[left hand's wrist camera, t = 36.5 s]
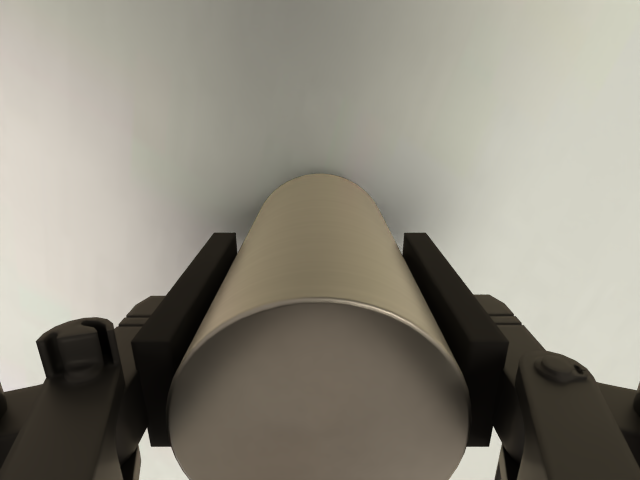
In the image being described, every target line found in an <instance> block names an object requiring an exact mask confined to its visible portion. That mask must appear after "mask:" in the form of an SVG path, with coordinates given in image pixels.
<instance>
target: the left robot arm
mask: <svg viewBox="0 0 640 480" xmlns="http://www.w3.org/2000/svg"><path fill="white" fill-rule="evenodd" d="M236 256H237V244H236V233H214V234H213V235H212V236H211V238H210V239H209V240H208V242H207V243H206V244H205V245H204V247H203V248H202V249H201V251H200V252H199V253H198V255H197V256H196V257H195V259H194V260H193V261H192V262H191V264H190V265H189V266H188V268H187V269H186V270H185V272H184V273H183V274H182V275H181V277H180V278H179V279H178V281H177V282H176V283H175V285H174V286H173V287H172V289H171V290H170V291H169V292H168V294H167V295H166V296H150V297H148V298H147V299H145V300H143V301H142V302H140V303H138V304H137V305H135V306H134V308H133V309H132V310H131V311H130V312H129V313H128V314H127V316H126V318H124V319H123V320H122V321H121V322H120V323H119V327H116V328H115V329H114V326H113V323H112V322H110V321H109V320H108V319H103V318H98V317H93V318H82V319H77V320H73V321H69V322H66V323H63V324H61V325H58V326H56V327H54V328H52V329H50V330H49V331H47V332H45V333H44V334H43V335H42V336H41V337H40V338H39V339H38V340H37V341H36V344H37V347H38V350H39V354H40V357H41V361H42V364H43V368H44V371H45V374H46V379H45V381H44V383H43V384H41V385H37V386H32V387H27V388H22V389H17V390H12V391H7V392H3V389H2V386H1V383H0V480H139V474H140V466H141V457H140V451H139V446H138V444H139V442H140V440H141V438H142V436H143V434H144V432H145V430H146V428H147V429H148V434H149V439H150V444H151V447H171V445H170V442H169V436H168V431H167V424H166V406H167V399H168V392H169V389H170V386H171V383H172V380H173V377H174V375H175V373H176V371H177V369H178V367H179V365H180V363H181V361H182V360H183V358H184V356H185V354H186V352H187V350H188V348H189V346H190V344H191V342H192V340H193V338H194V336H195V335H196V333H197V331H198V329H199V327H200V325H201V323H202V321H203V319H204V317H205V315H206V313H207V311H208V310H209V308H210V306H211V304H212V302H213V300H214V298H215V296H216V294H217V292H218V290H219V288H220V287H221V285H222V283H223V281H224V279H225V277H226V275H227V273H228V271H229V269H230V267H231V265H232V263H233V262H234V260H235V258H236ZM403 258H404V260H405V262H406V264H407V266H408V268H409V270H410V272H411V274H412V275H413V277H414V279H415V281H416V283H417V285H418V287H419V289H420V291H421V293H422V295H423V297H424V299H425V301H426V303H427V305H428V307H429V309H430V311H431V313H432V315H433V317H434V319H435V321H436V323H437V325H438V327H439V329H440V330H441V332H442V334H443V336H444V338H445V340H446V342H447V344H448V346H449V348H450V350H451V352H452V354H453V356H454V358H455V360H456V362H457V364H458V366H459V368H460V370H461V372H462V374H463V377H464V379H465V382H466V385H467V387H468V391H469V396H470V401H471V428H470V435H469V440H468V443H467V446H466V447H489V444H490V439H491V434H492V429H493V426H494V428H495V430H496V432H497V434H498V436H499V438H500V440H501V442H502V446H501V451H500V456H499V460H498V465H497V470H496V475H495V480H640V383H639V386H638V389H637V390H632V389H627V388H622V387H617V386H612V385H607V384H602V383H598V382H596V381H595V379H594V377H593V376H592V374H591V373H590V372H589V371H588V369H587V368H585V367H584V366H582V365H581V364H580V363H578V362H577V361H575V360H573V359H571V358H568V357H566V356H564V355H561V354H557V353H553V352H550V351H546V350H545V349H544V348H543V347H542V346H541V344H540V343H539V342H538V341H537V340H536V339H535V338H534V336H533V335H532V334H531V333H530V332H529V331H528V330H527V329H526V327H525V326H524V325H522V323H521V322H520V321H519V319H518V318H517V317H516V316H514V314H513V313H512V312H511V310H510V309H509V308H508V307H507V306H506V305H505V304H504V303H503V302H501V301H499V300H497V299H496V298H494V297H492V296H491V295H473V294H472V292H471V291H470V290H469V289H468V287H467V286H466V285H465V283H464V282H463V281H462V279H461V278H460V277H459V275H458V274H457V273H456V272H455V270H454V269H453V268H452V266H451V265H450V264H449V262H448V261H447V260H446V259H445V257H444V256H443V255H442V253H441V252H440V251H439V249H438V248H437V247H436V245H435V244H434V243H433V242H432V240H431V239H430V238H429V236H428V235H427V234H426V233H404V244H403Z"/></svg>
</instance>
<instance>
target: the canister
mask: <svg viewBox="0 0 640 480" xmlns="http://www.w3.org/2000/svg"><path fill="white" fill-rule="evenodd" d="M166 424H167V431H168V436H169V442H170V445H171V447H172V450H173V453H174V455H175V458H176V460H177V461H178V463H179V465H180V467H181V469H182V470H183V472H184V473H185V474H186V476H187V477H188V478H189V480H449V478H450V477H451V476H452V474H453V473H454V471H455V470H456V468H457V467H458V465H459V463H460V461H461V459H462V457H463V455H464V453H465V449H466V446H467V443H468V440H469V435H470V428H471V401H470V396H469V391H468V387H467V385H466V382H465V379H464V377H463V374H462V372H461V370H460V368H459V366H458V364H457V362H456V360H455V358H454V356H453V354H452V352H451V350H450V348H449V346H448V344H447V342H446V340H445V338H444V336H443V334H442V332H441V330H440V329H439V327H438V325H437V323H436V321H435V319H434V317H433V315H432V313H431V311H430V309H429V307H428V305H427V303H426V301H425V299H424V297H423V295H422V293H421V291H420V289H419V287H418V285H417V283H416V281H415V279H414V277H413V275H412V274H411V272H410V270H409V268H408V266H407V264H406V262H405V260H404V258H403V256H402V254H401V252H400V250H399V248H398V246H397V244H396V242H395V240H394V238H393V236H392V234H391V232H390V230H389V228H388V226H387V224H386V222H385V221H384V219H383V217H382V215H381V213H380V211H379V209H378V207H377V205H376V204H375V202H374V201H373V199H372V198H371V197H370V196H369V195H368V194H367V193H366V192H365V191H364V190H363V189H362V188H361V187H359V186H358V185H357V184H355V183H353V182H351V181H349V180H347V179H345V178H342V177H339V176H335V175H330V174H310V175H304V176H300V177H297V178H294V179H292V180H290V181H288V182H286V183H285V184H283V185H281V186H280V187H279V188H277V189H276V190H275V191H274V192H273V193H272V194H271V195H270V196H269V197H268V198H267V200H266V201H265V203H264V204H263V206H262V208H261V210H260V212H259V213H258V215H257V217H256V219H255V221H254V223H253V225H252V227H251V229H250V231H249V233H248V235H247V237H246V238H245V240H244V242H243V244H242V246H241V248H240V250H239V252H238V254H237V256H236V258H235V260H234V262H233V263H232V265H231V267H230V269H229V271H228V273H227V275H226V277H225V279H224V281H223V283H222V285H221V287H220V288H219V290H218V292H217V294H216V296H215V298H214V300H213V302H212V304H211V306H210V308H209V310H208V311H207V313H206V315H205V317H204V319H203V321H202V323H201V325H200V327H199V329H198V331H197V333H196V335H195V336H194V338H193V340H192V342H191V344H190V346H189V348H188V350H187V352H186V354H185V356H184V358H183V360H182V361H181V363H180V365H179V367H178V369H177V371H176V373H175V375H174V377H173V380H172V383H171V386H170V389H169V392H168V399H167V406H166Z"/></svg>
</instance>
